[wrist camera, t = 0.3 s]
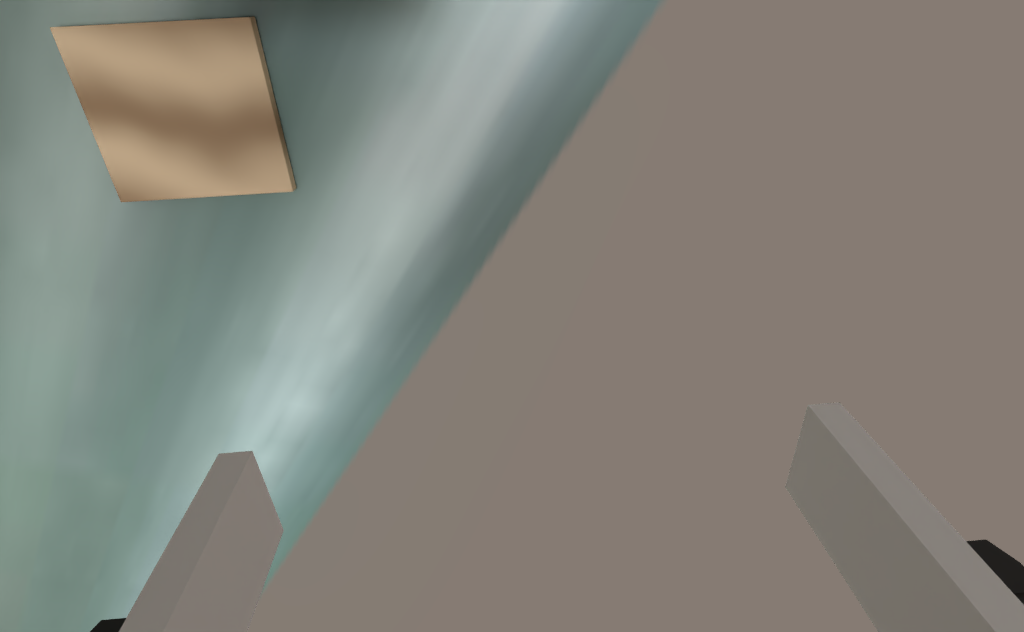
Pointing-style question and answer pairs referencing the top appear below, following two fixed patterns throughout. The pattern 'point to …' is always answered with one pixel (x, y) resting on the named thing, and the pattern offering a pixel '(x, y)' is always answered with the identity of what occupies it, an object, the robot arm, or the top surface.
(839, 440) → the robot arm
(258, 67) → the mat
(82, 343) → the top surface
